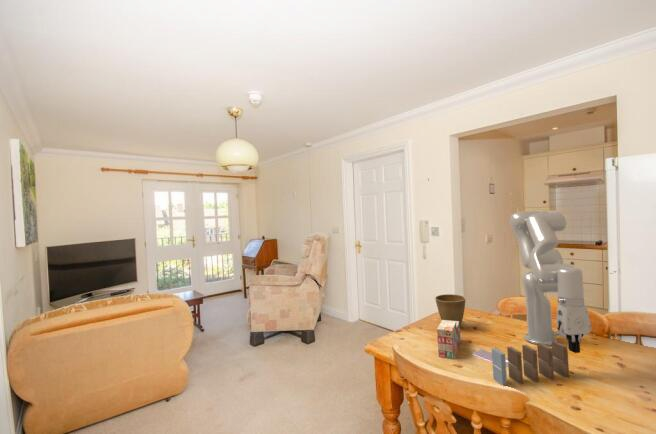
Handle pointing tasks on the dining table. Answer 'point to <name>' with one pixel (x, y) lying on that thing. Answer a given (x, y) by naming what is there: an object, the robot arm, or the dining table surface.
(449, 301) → the plant pot
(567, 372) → the domino
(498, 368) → the domino
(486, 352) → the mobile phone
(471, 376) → the dining table surface
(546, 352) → the domino
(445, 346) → the colourful printed box
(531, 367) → the domino
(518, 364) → the domino
